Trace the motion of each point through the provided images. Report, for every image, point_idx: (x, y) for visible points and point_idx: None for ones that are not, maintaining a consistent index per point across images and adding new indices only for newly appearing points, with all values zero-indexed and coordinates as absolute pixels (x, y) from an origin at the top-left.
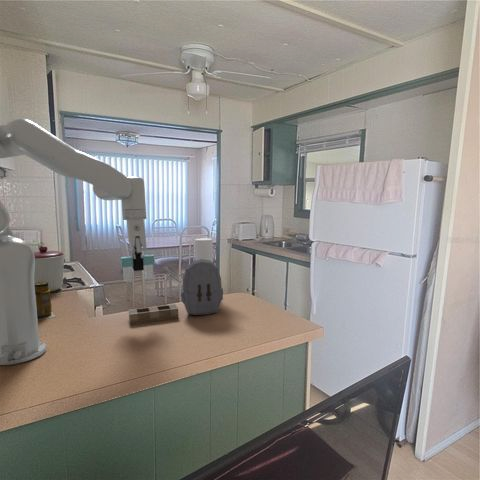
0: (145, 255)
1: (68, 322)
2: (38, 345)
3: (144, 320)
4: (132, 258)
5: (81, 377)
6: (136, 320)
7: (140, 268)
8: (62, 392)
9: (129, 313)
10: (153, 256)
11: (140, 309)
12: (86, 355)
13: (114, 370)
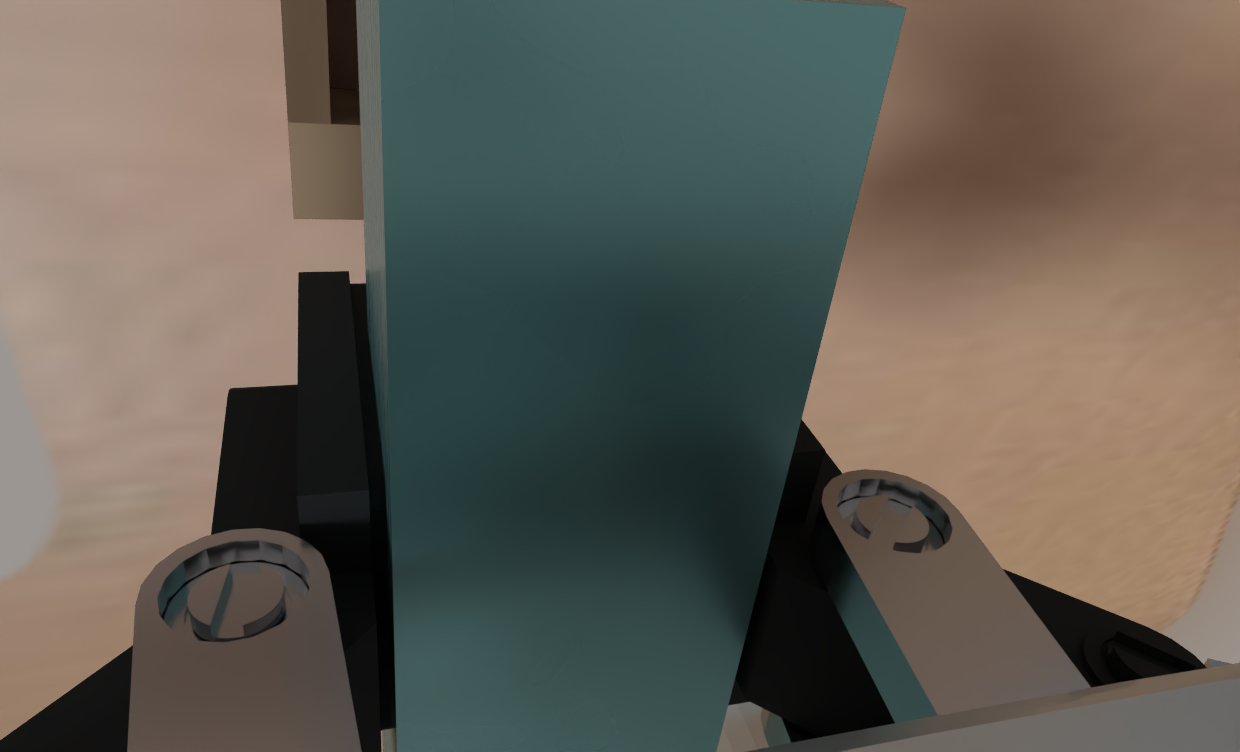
0: (554, 390)
1: None
2: (751, 711)
3: None
4: (697, 732)
5: (1145, 451)
6: None
7: None
8: (1203, 498)
9: None
10: (882, 25)
11: (327, 67)
12: (927, 460)
13: (1201, 316)
